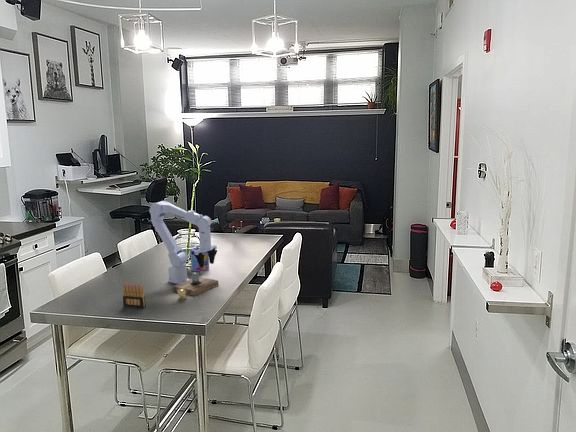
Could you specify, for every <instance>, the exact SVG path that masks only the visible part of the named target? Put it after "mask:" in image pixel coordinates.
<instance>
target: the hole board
mask: <svg viewBox="0 0 576 432" xmlns="http://www.w3.org/2000/svg"><path fill="white" fill-rule="evenodd" d="M216 285H218V286H219V280H218V279H212V278H206V277H202V276H199V285H192V278H191V280H188V281H185V282H183V283H180V284H175V285H173V286H172V291H173V292H176V293H178V289H185V290H186V295H189V296H196V295H198V294H201V293H203V292H206V291H208V290H210V288H211V289H213V288H215V287H217V286H216ZM214 286H215V287H214ZM212 287H213V288H212Z"/></svg>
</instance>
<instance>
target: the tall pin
mask: <svg viewBox="0 0 576 432" xmlns="http://www.w3.org/2000/svg"><path fill="white" fill-rule="evenodd" d="M199 277H200V272H199V271H192V272H191V279H192V285H199Z"/></svg>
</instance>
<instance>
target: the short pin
mask: <svg viewBox="0 0 576 432" xmlns="http://www.w3.org/2000/svg"><path fill="white" fill-rule="evenodd" d="M177 298H178V299H177V300H178V301H185V300H186V299H187V294H186V290H185V289H178V292H177Z"/></svg>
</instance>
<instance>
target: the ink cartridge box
mask: <svg viewBox="0 0 576 432" xmlns="http://www.w3.org/2000/svg"><path fill="white" fill-rule="evenodd" d="M199 248H200V245H196V247H195V248H191V249H189V250H190V261H191V262H190V264H191V265H190V267H191V271H192V272H199V271H200V270H202V271H209V270H210V262H209V255H208V252H204V253H202V255H205V256H204V267H203V268H202V267H200V266H199V263H198V261H197V259H196V257H195V256H194V254H195V253H194V251H196V250H198V249H199ZM208 269H209V270H208ZM200 272H201V271H200Z"/></svg>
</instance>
